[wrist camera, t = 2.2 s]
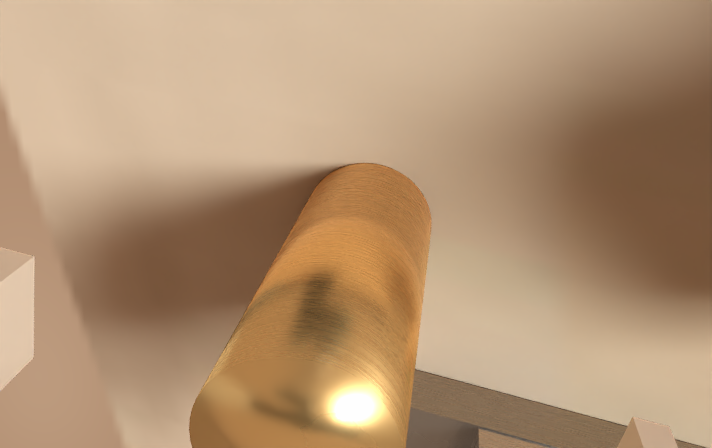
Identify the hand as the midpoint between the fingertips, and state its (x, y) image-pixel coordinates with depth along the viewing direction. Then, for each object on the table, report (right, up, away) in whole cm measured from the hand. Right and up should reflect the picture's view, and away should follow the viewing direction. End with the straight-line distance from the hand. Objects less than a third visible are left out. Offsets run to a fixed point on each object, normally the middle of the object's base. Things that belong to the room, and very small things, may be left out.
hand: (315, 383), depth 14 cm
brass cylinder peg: (+1, +3, +7) cm, 8 cm away
